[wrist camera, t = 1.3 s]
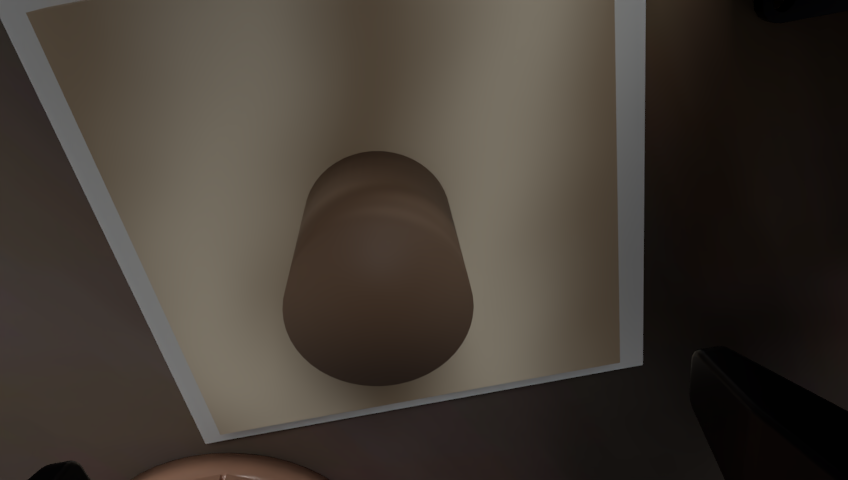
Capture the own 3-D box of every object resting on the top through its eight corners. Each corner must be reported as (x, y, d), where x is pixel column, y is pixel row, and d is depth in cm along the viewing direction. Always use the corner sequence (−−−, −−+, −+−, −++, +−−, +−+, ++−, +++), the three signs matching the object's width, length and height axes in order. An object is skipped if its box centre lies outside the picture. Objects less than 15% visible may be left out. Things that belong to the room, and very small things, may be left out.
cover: (599, -100, 13) (713, -109, 8) (610, 345, 18) (681, 473, 14) (44, 7, 13) (-118, 50, 9) (226, 415, 19) (182, 561, 14)
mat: (635, -162, 13) (647, -165, 12) (635, 352, 19) (643, 364, 19) (-10, -37, 13) (-26, -35, 12) (210, 429, 20) (205, 444, 19)
